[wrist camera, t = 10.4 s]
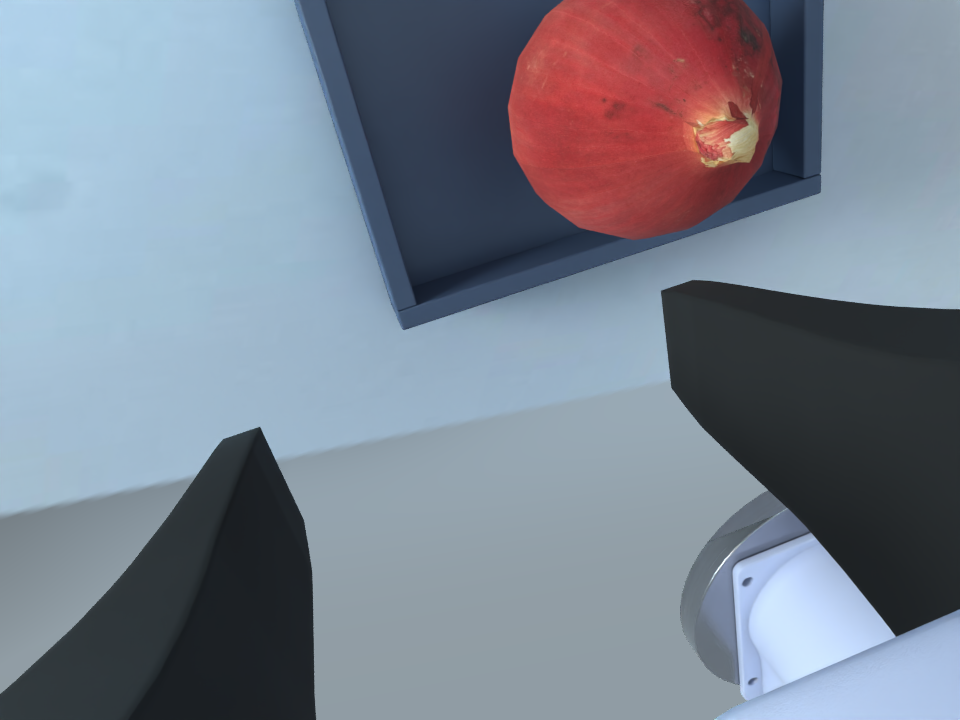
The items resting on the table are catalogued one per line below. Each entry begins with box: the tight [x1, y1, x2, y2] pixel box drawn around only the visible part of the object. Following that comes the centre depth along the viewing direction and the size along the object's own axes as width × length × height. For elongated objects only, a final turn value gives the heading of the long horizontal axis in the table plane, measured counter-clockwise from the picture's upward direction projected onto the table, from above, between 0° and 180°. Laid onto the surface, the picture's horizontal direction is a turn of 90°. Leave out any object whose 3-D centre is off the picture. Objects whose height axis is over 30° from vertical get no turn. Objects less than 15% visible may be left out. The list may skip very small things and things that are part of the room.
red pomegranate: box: [508, 0, 782, 240], centre depth 15 cm, size 6×6×8 cm
